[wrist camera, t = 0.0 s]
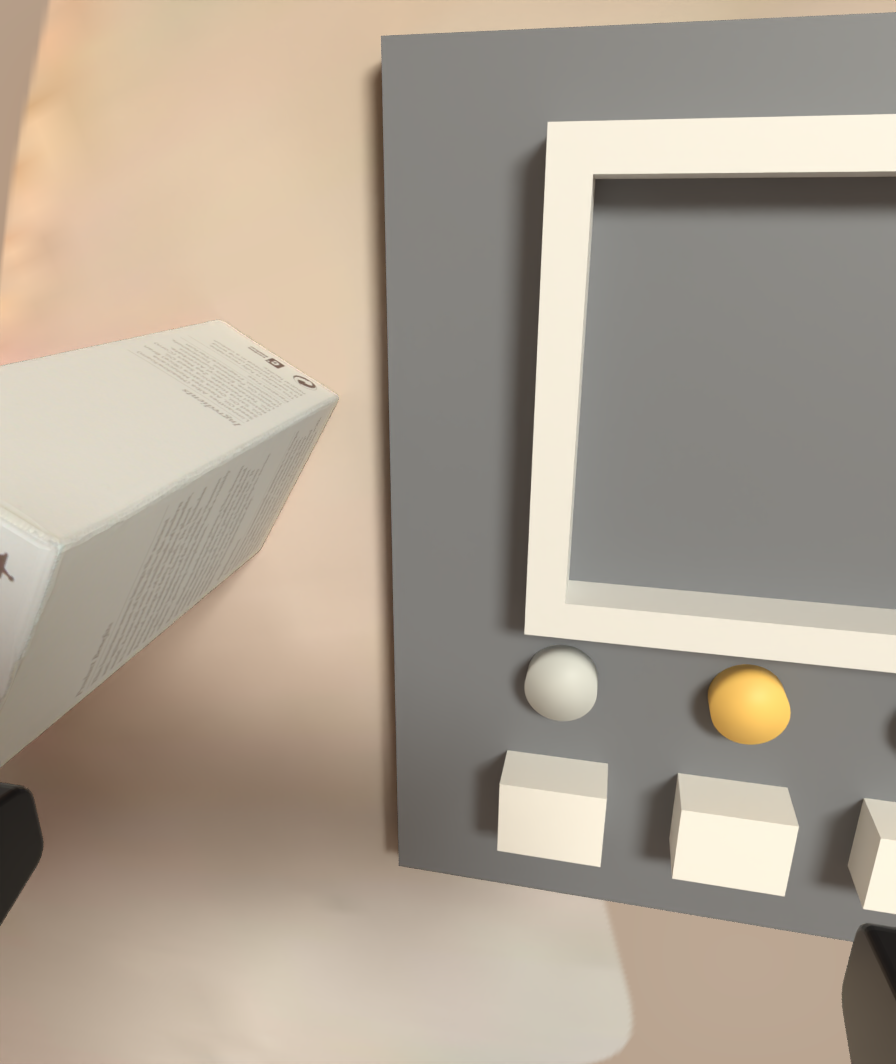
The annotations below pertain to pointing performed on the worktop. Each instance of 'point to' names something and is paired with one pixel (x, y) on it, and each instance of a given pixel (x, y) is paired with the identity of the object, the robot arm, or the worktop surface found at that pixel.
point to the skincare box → (133, 499)
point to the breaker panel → (647, 462)
